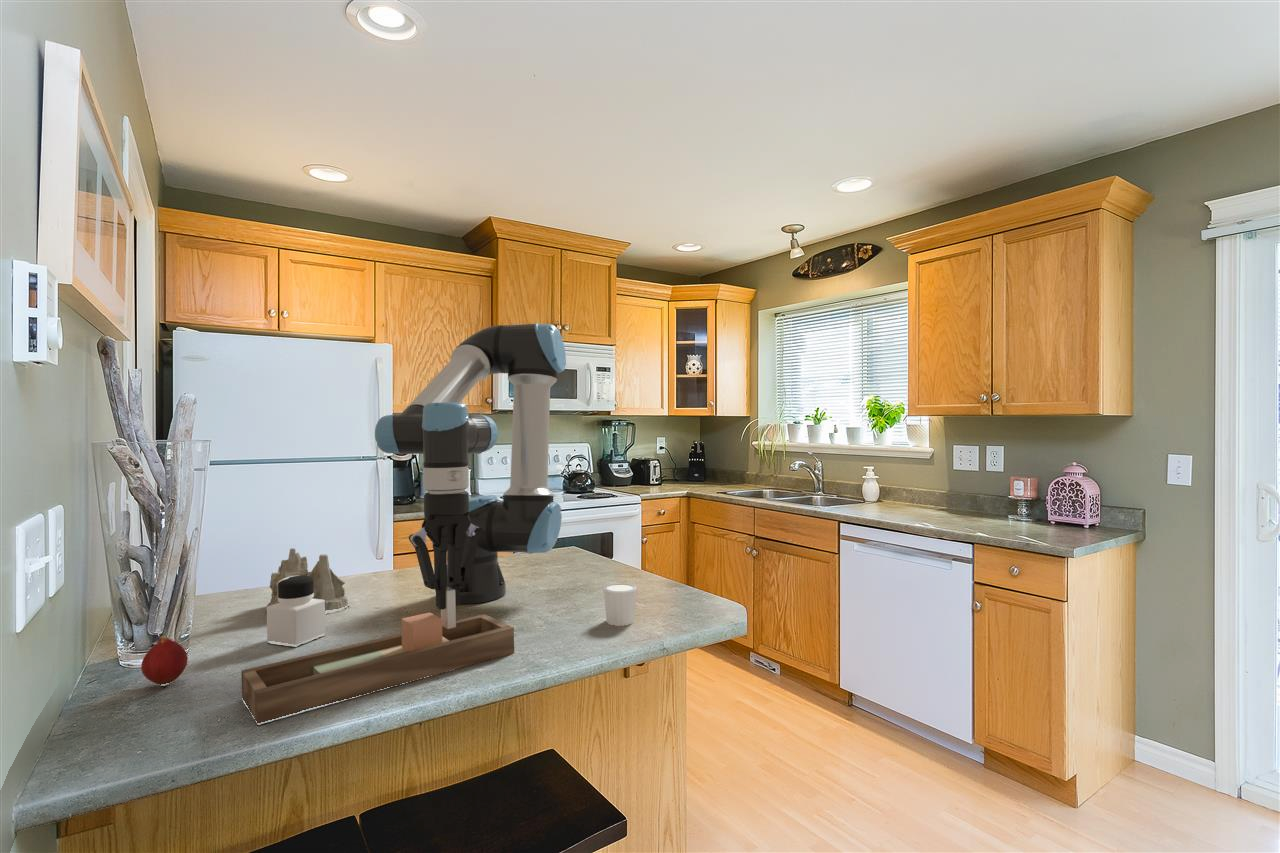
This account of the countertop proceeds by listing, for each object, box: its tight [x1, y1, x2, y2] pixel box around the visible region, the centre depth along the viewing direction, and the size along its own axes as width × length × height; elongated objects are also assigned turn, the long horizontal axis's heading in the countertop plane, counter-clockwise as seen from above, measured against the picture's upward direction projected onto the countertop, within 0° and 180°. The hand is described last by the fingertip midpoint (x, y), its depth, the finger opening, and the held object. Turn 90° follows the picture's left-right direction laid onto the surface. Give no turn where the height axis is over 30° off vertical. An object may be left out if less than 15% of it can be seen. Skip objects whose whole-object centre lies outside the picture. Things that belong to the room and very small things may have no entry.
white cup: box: [602, 583, 638, 627], centre depth 131 cm, size 7×7×7 cm
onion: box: [141, 636, 189, 686], centre depth 102 cm, size 6×6×8 cm
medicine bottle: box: [266, 575, 326, 645], centre depth 122 cm, size 7×7×12 cm
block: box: [400, 612, 442, 652], centre depth 109 cm, size 5×5×5 cm
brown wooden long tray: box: [240, 613, 515, 723], centre depth 105 cm, size 11×40×4 cm, turn 131°
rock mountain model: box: [265, 547, 349, 611], centre depth 144 cm, size 16×16×15 cm
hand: (448, 626), depth 112 cm, fingers closed
